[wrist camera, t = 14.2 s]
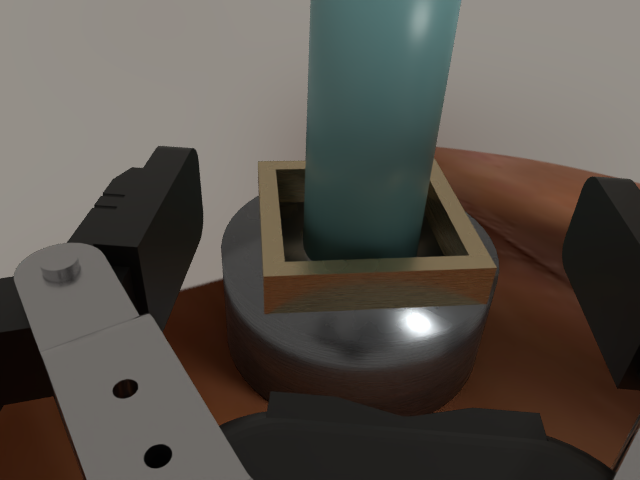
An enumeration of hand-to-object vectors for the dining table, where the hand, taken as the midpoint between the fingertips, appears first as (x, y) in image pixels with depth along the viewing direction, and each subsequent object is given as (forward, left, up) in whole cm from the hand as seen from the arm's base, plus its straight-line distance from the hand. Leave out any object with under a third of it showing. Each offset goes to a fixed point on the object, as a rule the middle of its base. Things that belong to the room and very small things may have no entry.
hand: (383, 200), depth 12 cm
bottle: (-2, -10, -8) cm, 13 cm away
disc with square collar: (-2, -10, -13) cm, 17 cm away
